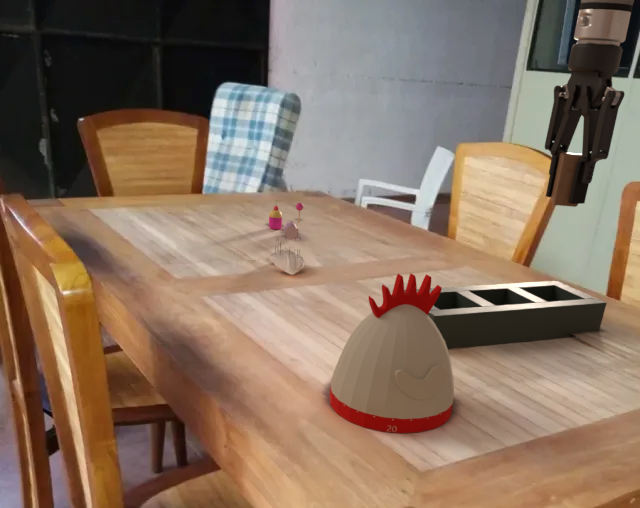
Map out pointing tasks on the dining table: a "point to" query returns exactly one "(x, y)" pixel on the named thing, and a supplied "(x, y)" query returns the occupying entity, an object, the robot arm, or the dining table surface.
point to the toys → (289, 225)
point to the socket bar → (513, 313)
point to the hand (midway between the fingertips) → (564, 199)
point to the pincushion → (287, 260)
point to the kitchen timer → (396, 365)
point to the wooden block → (564, 179)
